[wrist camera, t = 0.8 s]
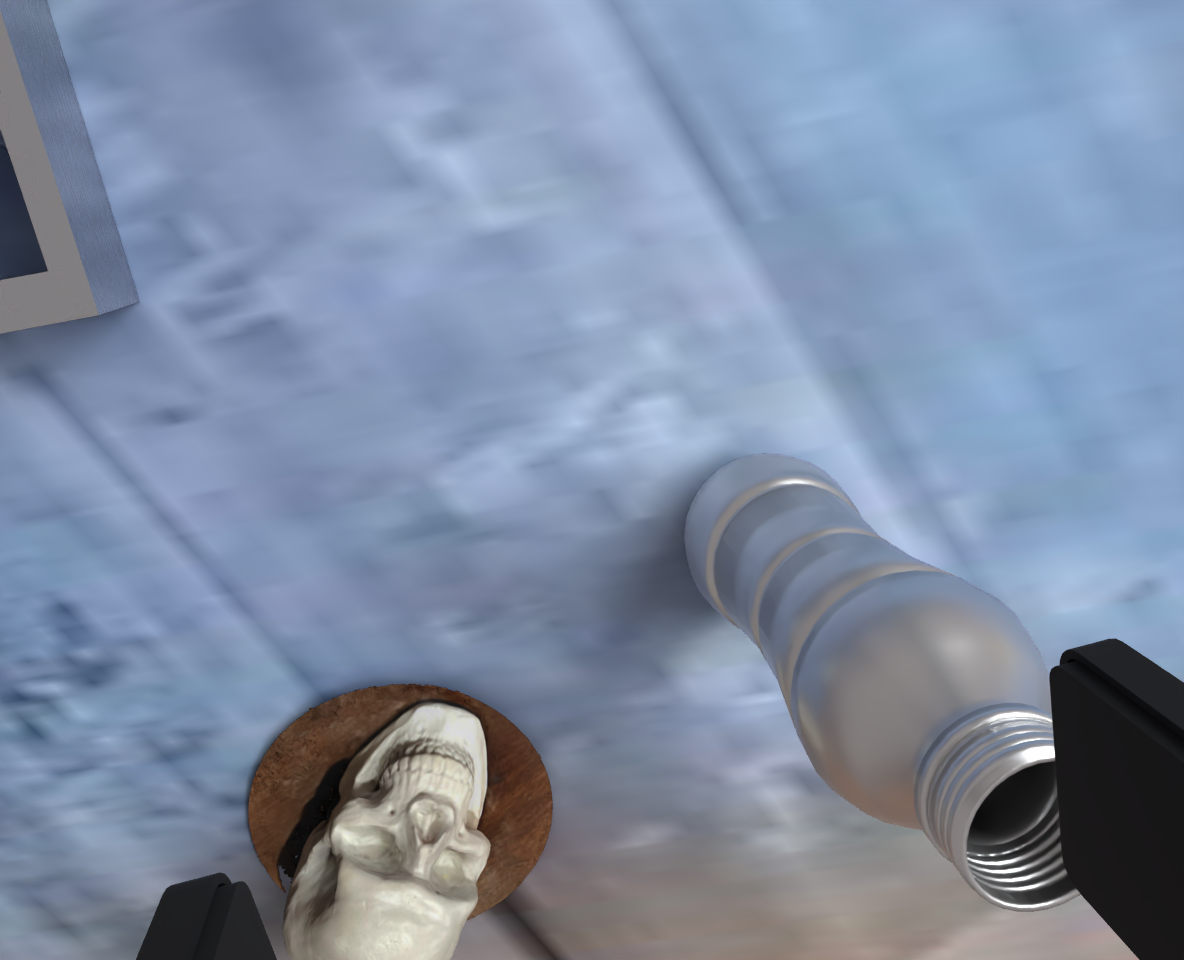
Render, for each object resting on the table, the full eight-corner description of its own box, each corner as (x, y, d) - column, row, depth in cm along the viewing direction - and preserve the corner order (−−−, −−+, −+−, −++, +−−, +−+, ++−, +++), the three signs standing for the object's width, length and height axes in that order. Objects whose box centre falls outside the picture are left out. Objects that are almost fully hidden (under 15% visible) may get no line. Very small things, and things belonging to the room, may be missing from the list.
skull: (307, 625, 36) (481, 813, 31) (481, 637, 45) (641, 785, 39) (162, 884, 38) (302, 1107, 32) (357, 847, 47) (494, 1018, 41)
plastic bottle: (705, 625, 40) (941, 1021, 21) (646, 478, 37) (846, 768, 18) (851, 561, 40) (1221, 897, 21) (800, 411, 38) (1157, 631, 19)
